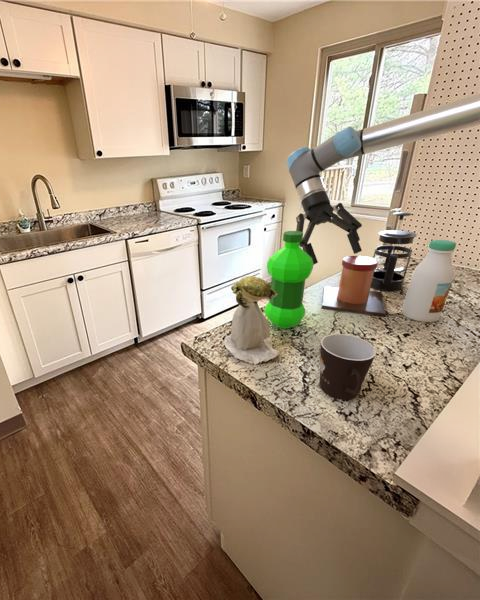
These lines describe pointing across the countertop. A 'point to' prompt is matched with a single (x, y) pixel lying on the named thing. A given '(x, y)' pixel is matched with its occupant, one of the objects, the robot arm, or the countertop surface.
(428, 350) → the countertop surface
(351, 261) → the lid
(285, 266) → the plastic bottle
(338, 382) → the coffee mug
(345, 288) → the jar
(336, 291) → the board
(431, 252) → the milk bottle
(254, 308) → the turtle figurine
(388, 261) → the french press
